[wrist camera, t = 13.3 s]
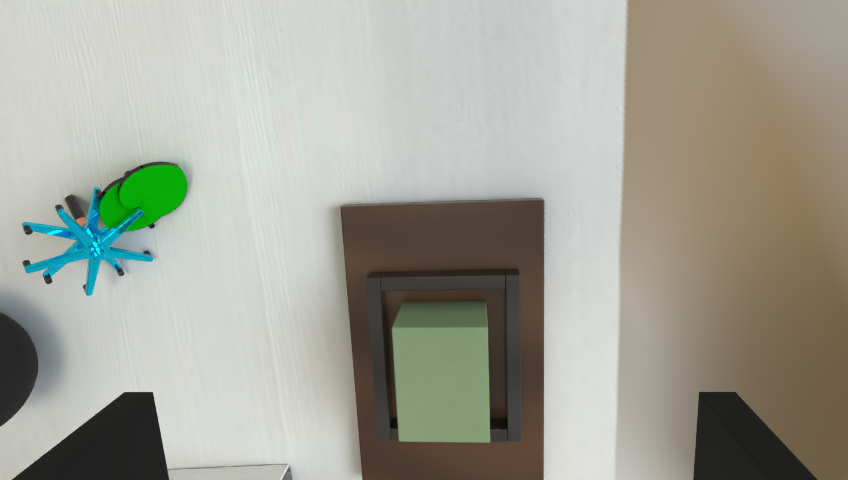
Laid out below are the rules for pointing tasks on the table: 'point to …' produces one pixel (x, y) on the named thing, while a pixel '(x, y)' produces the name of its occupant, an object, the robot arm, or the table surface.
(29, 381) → the speaker
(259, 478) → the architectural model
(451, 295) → the back board
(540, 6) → the table surface
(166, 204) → the stick construction toy
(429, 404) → the green rectangular block
